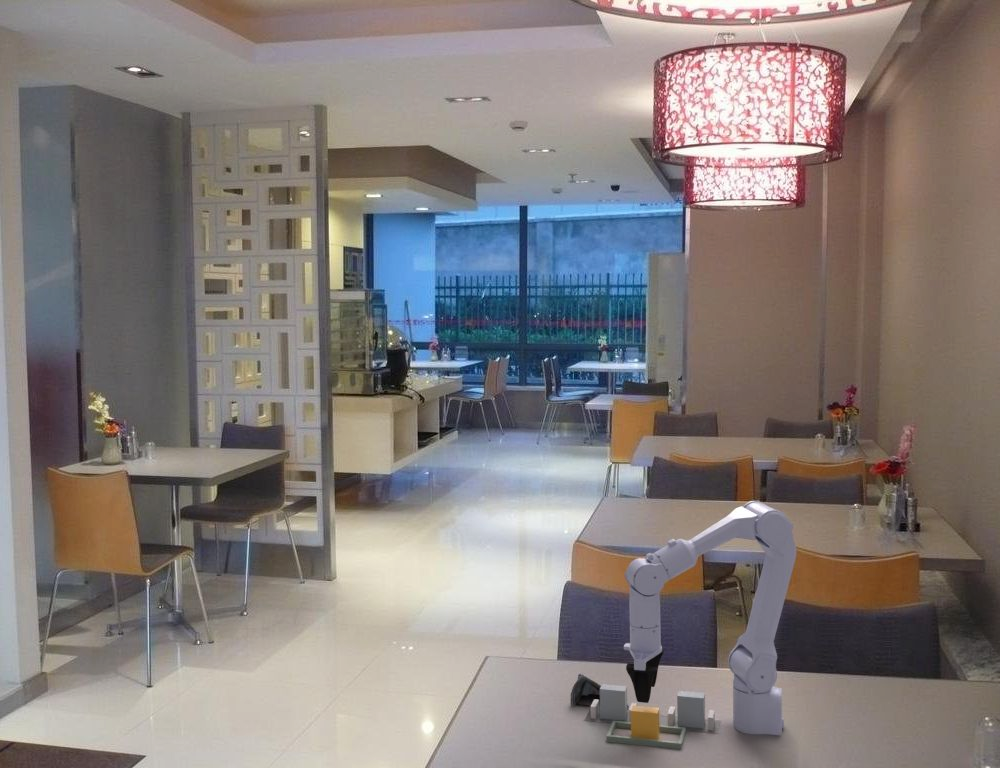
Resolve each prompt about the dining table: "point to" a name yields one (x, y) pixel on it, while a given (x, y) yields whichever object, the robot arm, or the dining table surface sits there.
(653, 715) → the block
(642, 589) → the robot arm
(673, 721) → the block
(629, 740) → the tray
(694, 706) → the block
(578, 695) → the chocolate cake
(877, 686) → the dining table surface
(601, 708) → the block
